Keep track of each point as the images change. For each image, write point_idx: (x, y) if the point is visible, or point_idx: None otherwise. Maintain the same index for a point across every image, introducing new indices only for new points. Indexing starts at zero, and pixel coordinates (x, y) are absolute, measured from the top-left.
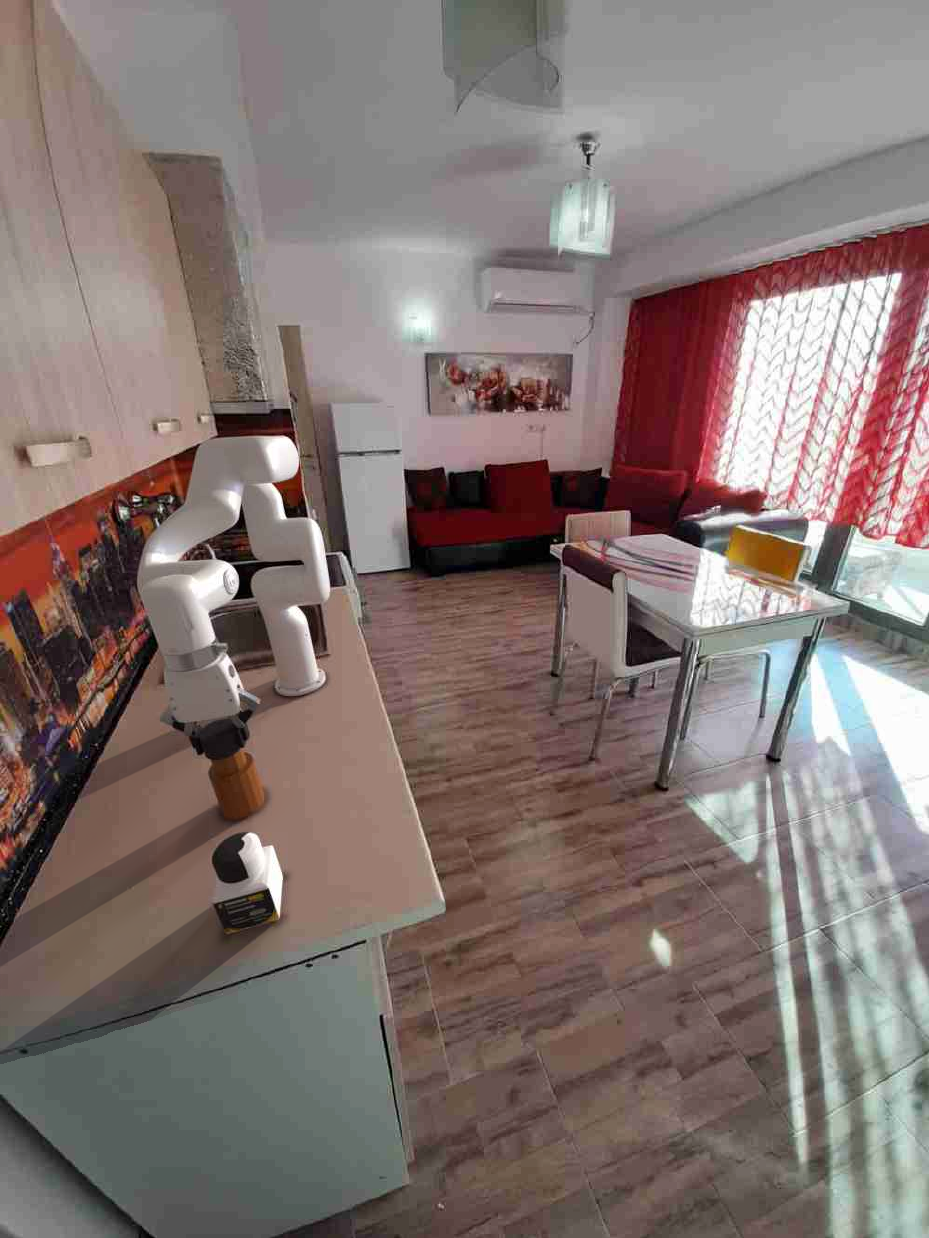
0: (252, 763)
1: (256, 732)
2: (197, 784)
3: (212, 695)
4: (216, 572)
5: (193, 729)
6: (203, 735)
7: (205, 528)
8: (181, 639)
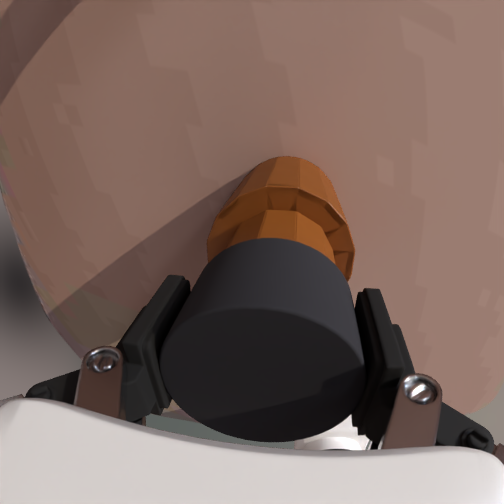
0: (352, 265)
1: None
2: (153, 105)
3: None
4: None
5: (140, 415)
6: (195, 404)
7: None
8: None
